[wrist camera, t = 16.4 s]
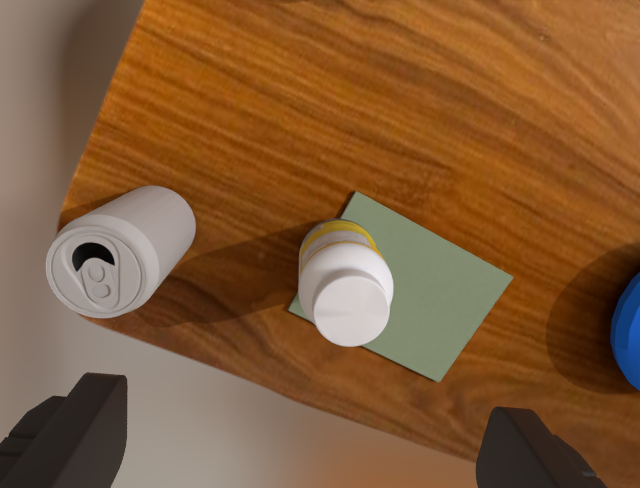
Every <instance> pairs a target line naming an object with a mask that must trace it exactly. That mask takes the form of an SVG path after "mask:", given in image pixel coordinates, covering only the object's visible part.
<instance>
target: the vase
mask: <svg viewBox="0 0 640 488" xmlns="http://www.w3.org/2000/svg"><path fill="white" fill-rule="evenodd" d="M610 341H611V346H612V350H613V354H614V358H615V360H616V362H617V364H618V366H619V367H620V369H621V370H622V372H623V374H624V375H625V377H626V378H627V380H628V382H629V383H630V384H632V385H633V386H634V387H635V388H637V389H638V390H639V391H640V272H639V273H638V274H637V275H636V276H635V277H634V278H633V279H632V280H631V282H630V283H629V285H628V286H627V288H626V289H625V291H624V292H623V294H622V296H621V297H620V299H619V301H618V304H617V306H616V309H615V312H614V315H613V318H612V322H611V335H610Z"/></svg>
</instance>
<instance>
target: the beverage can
mask: <svg viewBox="0 0 640 488" xmlns="http://www.w3.org/2000/svg"><path fill="white" fill-rule="evenodd" d="M195 231H196V224H195V218H194V215H193V212H192V210H191V208H190V206H189V205H188V204H187V202H186V201H185V200H184V199H183V198H182V197H181V196H180V195H178V194H177V193H175V192H174V191H172V190H170V189H167V188H164V187H160V186H143V187H140V188H137V189H134V190H132V191H130V192H128V193H126V194H124V195H123V196H121V197H119V198H117V199H115V200H113V201H111V202H109V203H107V204H105V205H103V206H101V207H99V208H97V209H95V210H93V211H91V212H89V213H87V214H85V215H83V216H81V217H79V218H77V219H75V220H73V221H71V222H70V223H68V224H67V225H66V226H65V227H63V228H62V230H61V231H60V232H59V233H58V234H57V236H56V238H55V240H54V242H53V244H52V245H51V247H50V249H49V251H48V254H47V257H46V264H45V270H46V276H47V280H48V283H49V285H50V287H51V289H52V290H53V292H54V293H55V295H56V296H57V297H58V298H59V300H60V301H61V302H62V303H64V304H65V305H66V306H67V307H69V308H70V309H72V310H73V311H75V312H77V313H80V314H82V315H85V316H89V317H93V318H111V317H116V316H119V315H122V314H124V313H127V312H130V311H132V310H135V309H137V308H138V307H140V306H141V305H143V304H144V303H145V302H146V301H147V300H148V299H149V298H150V297H151V296H152V294H153V293H154V292H155V291H156V289H157V288H158V287H159V285H160V284H161V283H162V282H163V280H164V279H165V278H166V277H167V275H168V274H169V273H170V271H171V270H172V269H173V268H174V266H175V265H176V264H177V263H178V261H179V260H180V259H181V257H182V256H183V255H184V254H185V252H186V251H187V250H188V249H189V247H190V246H191V244H192V242H193V239H194V236H195Z"/></svg>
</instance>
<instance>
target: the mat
mask: <svg viewBox="0 0 640 488" xmlns="http://www.w3.org/2000/svg"><path fill="white" fill-rule="evenodd" d="M340 219H346V220H350V221H353V222H355V223H357V224H359V225H360V226H362V227H363V228H364V229H365V230H366V231H367V232H368V233H369V234H370V236H371V237H372V239H373V241H374V242H375V244H376V246H377V248H378V249H379V251H380V253H381V255H382V257H383V258H384V260H385V262H386V264H387V266H388V268H389V270H390V272H391V275H392V279H393V297H392V301H391V304H390V313H389V319H388V322H387V324H386V326H385V328H384V329H383V331H382V332H381V333H380V334H379V335H378V336H377V337H376V338H375V339H373V340H372V341H370V342H368V343H366V344H363V345H361V346H363V347H365V348H367V349H370V350H372V351H374V352H376V353H378V354H380V355H382V356H384V357H386V358H388V359H390V360H393V361H395V362H397V363H399V364H401V365H403V366H405V367H407V368H409V369H411V370H413V371H416V372H418V373H420V374H422V375H424V376H426V377H428V378H430V379H432V380H434V381H436V382H440V381H441V379H442V378H443V376H444V375H445V374H446V372H447V371H448V369H449V368H450V366H451V365H452V364H453V362H454V361H455V359H456V358H457V356H458V355H459V354H460V352H461V351H462V349H463V348H464V347H465V345H466V344H467V342H468V341H469V339H470V338H471V337H472V335H473V334H474V332H475V331H476V330H477V328H478V327H479V325H480V324H481V322H482V321H483V320H484V318H485V317H486V315H487V314H488V312H489V311H490V310H491V308H492V307H493V305H494V304H495V303H496V301H497V300H498V298H499V297H500V295H501V294H502V293H503V291H504V290H505V288H506V287H507V285H508V284H509V283H510V281H511V280H512V278H513V277H512V276H511V275H509V274H507V273H506V272H504V271H502V270H500V269H498V268H496V267H495V266H493V265H491V264H489V263H487V262H486V261H484V260H482V259H480V258H478V257H476V256H475V255H473V254H471V253H469V252H467V251H465V250H464V249H462V248H460V247H458V246H456V245H454V244H453V243H451V242H449V241H447V240H445V239H443V238H442V237H440V236H438V235H436V234H434V233H432V232H431V231H429V230H427V229H425V228H423V227H421V226H420V225H418V224H416V223H414V222H412V221H410V220H409V219H407V218H405V217H403V216H401V215H399V214H398V213H396V212H394V211H392V210H390V209H388V208H387V207H385V206H383V205H381V204H379V203H378V202H376V201H374V200H372V199H370V198H368V197H367V196H365V195H363V194H361V193H359V192H357V191H355V192H354V194H353V196H352V198H351V199H350V201H349V203H348V205H347V206H346V208H345V210H344V212H343V213H342V215H341V217H340ZM288 311H290V312H292V313H294V314H296V315H298V316H301V317H303V318H305V319H307V320H309V321H311V320H310V319H309V318H308V317H307V316H306V314H305V313H304V311H303V309H302V307H301V304H300V300H299V294H298V292H297V294H296V295H295V297H294V299H293V301H292V302H291V304H290V306H289V308H288ZM311 322H312V321H311Z"/></svg>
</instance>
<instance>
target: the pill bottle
mask: <svg viewBox="0 0 640 488" xmlns="http://www.w3.org/2000/svg"><path fill="white" fill-rule="evenodd" d="M298 294H299V300H300V304H301V307H302V309H303V311H304V313H305V314H306V316H307V317H308V318H309V319H310V320H311V321H312V322H313V323H314V324H315V325H316V327H317V329H318V330H319V332H320V333H321V334H322V335H323V336H324V337H325V338H326V339H328V340H329V341H331V342H333V343H335V344H337V345H341V346H349V347H351V346H359V345H363V344H366V343H368V342H370V341H372V340H373V339H375V338H376V337H377V336H378V335H379V334H380V333H381V332H382V331H383V329H384V328H385V326H386V324H387V322H388V319H389V313H390V304H391V301H392V297H393V279H392V275H391V272H390V270H389V268H388V266H387V264H386V262H385V260H384V258H383V257H382V255H381V253H380V251H379V249H378V248H377V246H376V244H375V242H374V241H373V239H372V237H371V236H370V234H369V233H368V232H367V231H366V230H365V229H364V228H363V227H362V226H360V225H359V224H357V223H355V222H353V221H350V220H346V219H330V220H327V221H324V222H321V223H319V224H318V225H316V226H315V227H313V228H312V229H311V230H310V231H309V232H308V233H307V235H306V236H305V238H304V239H303V241H302V244H301V247H300V251H299V284H298Z"/></svg>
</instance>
